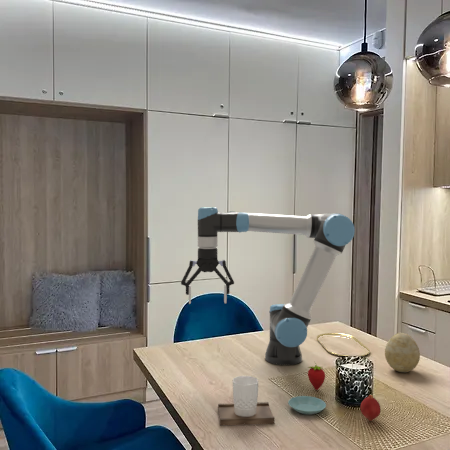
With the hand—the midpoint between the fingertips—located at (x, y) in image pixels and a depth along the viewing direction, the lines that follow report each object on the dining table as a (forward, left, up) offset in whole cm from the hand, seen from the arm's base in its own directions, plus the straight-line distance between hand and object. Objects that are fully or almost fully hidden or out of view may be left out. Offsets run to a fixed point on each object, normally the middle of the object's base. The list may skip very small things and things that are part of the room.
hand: (207, 303), depth 184 cm
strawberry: (-37, +21, -27) cm, 50 cm away
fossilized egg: (-75, +5, -27) cm, 80 cm away
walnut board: (-10, +40, -27) cm, 49 cm away
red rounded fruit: (-47, +45, -27) cm, 70 cm away
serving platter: (-62, -29, -27) cm, 74 cm away
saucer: (-30, +36, -27) cm, 54 cm away
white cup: (-10, +40, -26) cm, 48 cm away
